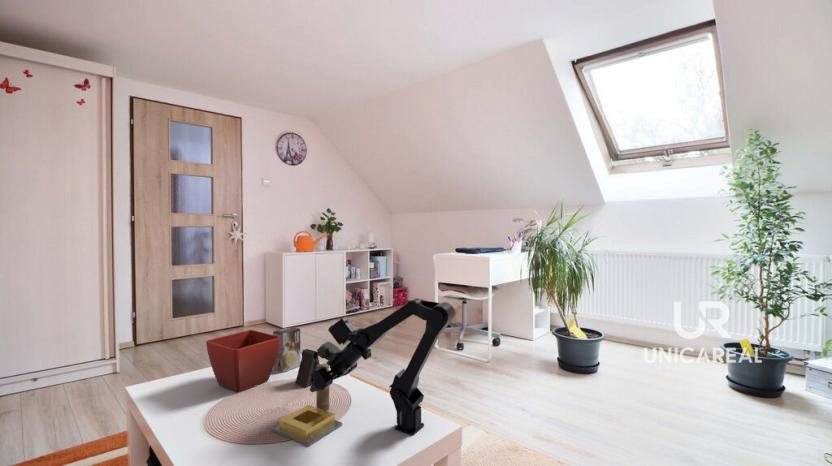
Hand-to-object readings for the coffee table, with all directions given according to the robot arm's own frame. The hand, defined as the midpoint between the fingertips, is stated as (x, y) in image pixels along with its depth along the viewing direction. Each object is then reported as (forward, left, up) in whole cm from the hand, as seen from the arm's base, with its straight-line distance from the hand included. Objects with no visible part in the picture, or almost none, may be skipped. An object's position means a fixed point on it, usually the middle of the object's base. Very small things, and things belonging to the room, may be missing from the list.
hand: (319, 385), depth 124 cm
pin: (-1, 0, -7) cm, 8 cm away
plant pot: (+39, +1, -8) cm, 40 cm away
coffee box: (+38, -18, -8) cm, 43 cm away
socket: (-6, +11, -7) cm, 14 cm away
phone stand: (+19, -13, -8) cm, 24 cm away
